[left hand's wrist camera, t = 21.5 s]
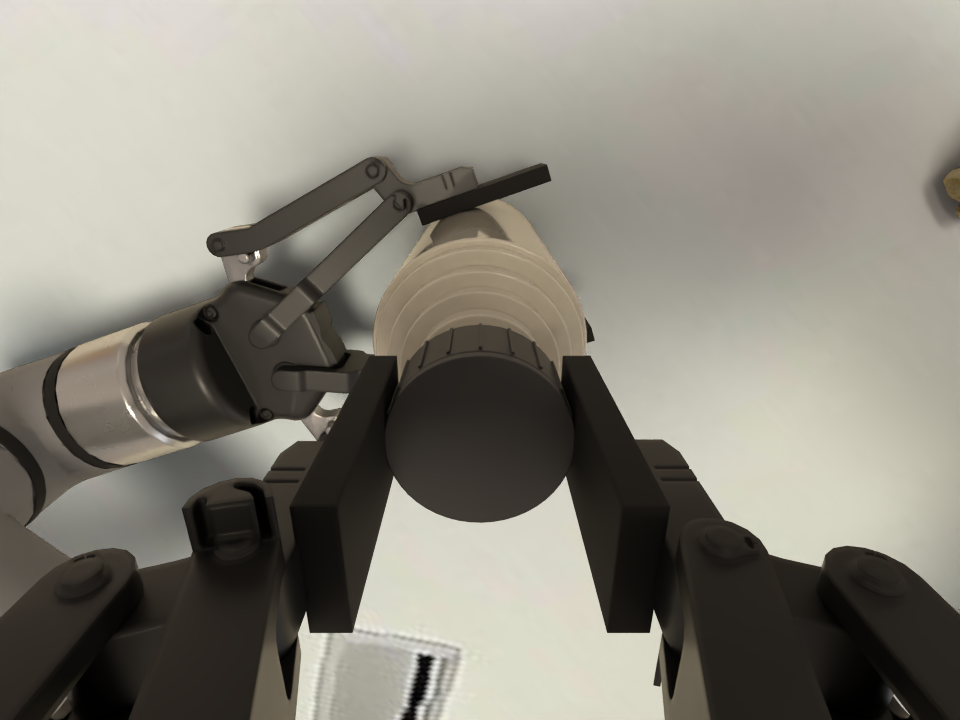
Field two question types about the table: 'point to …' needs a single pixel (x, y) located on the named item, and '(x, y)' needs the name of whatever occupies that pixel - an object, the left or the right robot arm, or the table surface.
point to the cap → (479, 425)
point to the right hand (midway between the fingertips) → (567, 253)
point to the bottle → (480, 287)
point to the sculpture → (953, 186)
